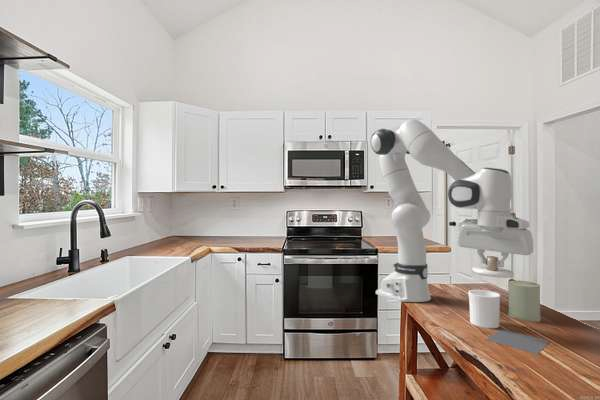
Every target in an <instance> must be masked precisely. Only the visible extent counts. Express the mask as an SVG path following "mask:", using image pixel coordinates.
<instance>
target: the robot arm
mask: <svg viewBox="0 0 600 400" xmlns="http://www.w3.org/2000/svg"><path fill="white" fill-rule="evenodd" d="M370 146H371V149H372V151H373V152H374V154H376V155H379V158H378V159H379V160H378V161H379V167H380V171H381V175H382V178H383V182H384V184H385V186H386V189H387V192H388V195H389V196H390V197H391V199H392V200H393V202H394V204H395V205H396V207H395V208H394V210H392V213H391V223H392V224H393V227H394V231H395V234H396V240H397V260H398V261H397V262H395V263H393V264H392V267H393V268H394V270H393V271H392V272H391V273H389V274H388V275H387V276H386V277H383V279H382V281H381V285H380V288H378V289H376V290H375V295H379V296H381V297H384V298H386V299H391V300H394V301H397V302H400V303H407V302H408V303H410V302H411V303H424V302H429V301H430V300H432V297H431V294H430V290H429V284H428V273H429V272H428V270H429V269H428V263H427V244H426V242H425V239H424V238H425V237H424V232H423V228H424V227H426V226H427V224H429V222H430V220H431V214H430V211H429V209H428V208H427V206H426V204H425V202H424V199H423V198H422V196H421V194H420V193H419V191H418V190H417V189H418V188H417V187H416V185H415V183H414V180H413V178H412V174H411V173H410V172H411V171H410V170H409V167H408V165H407V163H406V154H407V155H410V156H411V157H412V158H413V159H414V160H415V161H417V162H418V163H419V164H421V165H423V166H426V167H430V168H433V169H434V168H435V169H437V170H439V171H442V172H444V173H447V174H448V175H449V176H450V177H451V178H452V179H454V180H455V181H454V182H452V183H451V184H450V186H449V188H448V191H447V196H448V197H447V198H448V200H449V202H450V204H451V205H453V207H456V208H458V209H469V210H473V209H474V210H475V209H476V210H477V218H476V219H475V218H474V219H473V218H472V219H469V218H463V219H462V220H460V221H459V222H458V236H457V245H458V246H459V247H460V248H465V249H473V250H477V255H478V256H479V258H480V265H483V266H484V265H485V266H487V257H486V256H485V255H484V253H485V252H486V251H489V252H498V253H500V256H501V257H502V258H500V260H499V259H498V261H497V267H498V268H504V267H505V261H506V260H507V259H508V258H509V255H510V254H513V255H518V256H519V255H520V256H521V255H522V256H529V255H532V254H533V253H534V239H533V234H532V232H531V231H530V230H529V228H530V222H529V221H528V220H526V219H524V218H523V219H522V218H520V217H516V216H513V215H512V207H511V200H512V195H513V190H512V189H513V188H512V176H511V174H510V172H509V171H508V170H506V169H502V168H501V169H500V168H494V167H482V168H481V169H480V170H479V171H478V172H475V171H474V170H472V168H471V167H469V166H468V165H467V164H466V163H465V162H464V161H462V160H461V159H460V158H459V157H458V156H457V155H456V154H455V153H454V152H453V151H452V150H451V149H450V148H449V147H448V146H446V144H445V143H444V142H443V141H442V140H441V139H440V138H439V137H438V135H436V134H435V132H433V131H432V130H431V128H430V127H428V126H427V125H426V124H424V123H423V122H421V121H420V120H418V119H415V118H414V119H413V118H411V119H408V120H406V121H404V122H403V123H401V124H400V125H399V124H398V125H394V126H390V127H386V128H380V129H378V130H375V131H374V132H373V133H372V135H371V137H370Z"/></svg>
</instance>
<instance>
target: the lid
mask: <svg viewBox="0 0 600 400" xmlns="http://www.w3.org/2000/svg"><path fill="white" fill-rule="evenodd" d="M486 259H487V265H485V266H484V265H481V266H479V265H478V266H477V265H476V266H472V267H471V272H472V273H474V274H476V275H480V276H484V277H492V278H498V279H499V278H502V279H505V278H506V279H509V278H513V277H514V275H515V273H514V271H512V270H510V269H506V268H503V267H497V261H498V260H499V257H498V256H493V255H488V256H486Z"/></svg>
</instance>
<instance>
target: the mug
mask: <svg viewBox="0 0 600 400" xmlns="http://www.w3.org/2000/svg"><path fill="white" fill-rule="evenodd" d="M467 294H468V301H469V303H468V305H469V321H470V324H472V325H473V326H476V327H479V328H484V329H498V328H499V327H500V301H501V294H500V293H498V292H497V291H496V292H495V291H491V290H485V289H471V290H468V293H467Z"/></svg>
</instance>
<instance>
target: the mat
mask: <svg viewBox="0 0 600 400" xmlns="http://www.w3.org/2000/svg"><path fill="white" fill-rule="evenodd" d="M485 340H486V341H489V342H491V343H495V344H498V345H503V346H506V347H509V348H513V349H515V350H516V349H518V350H520V351H524V352H528V353H531V354H535V355H539V354H540V353H541V352H542V350H543V349H544V348H545V347H547V345H548V344H549V343H550V340H546V339H543V338H540V337H535V336H531V335H527V334H523V333H519V332H515V331H514V332H513V331H510V330H506V329H503V328H500V329H499V330H498V331H495V332H494V333H493V334H492V335H490V336H489V337H488V338H486V339H485Z"/></svg>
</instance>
